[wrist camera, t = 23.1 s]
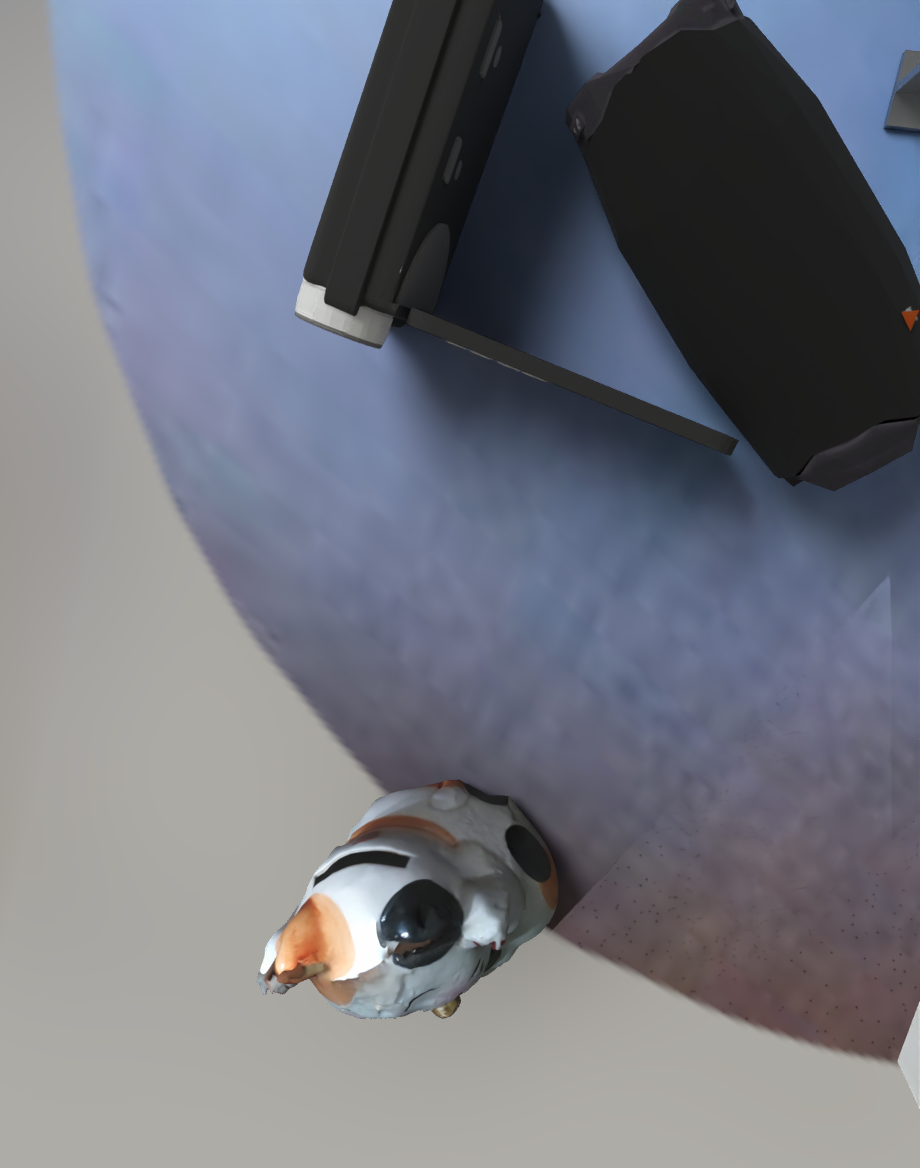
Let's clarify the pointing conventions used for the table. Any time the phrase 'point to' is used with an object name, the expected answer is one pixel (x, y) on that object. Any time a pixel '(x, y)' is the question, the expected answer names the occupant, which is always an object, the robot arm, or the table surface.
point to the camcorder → (431, 188)
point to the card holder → (906, 95)
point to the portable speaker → (758, 243)
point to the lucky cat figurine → (417, 904)
